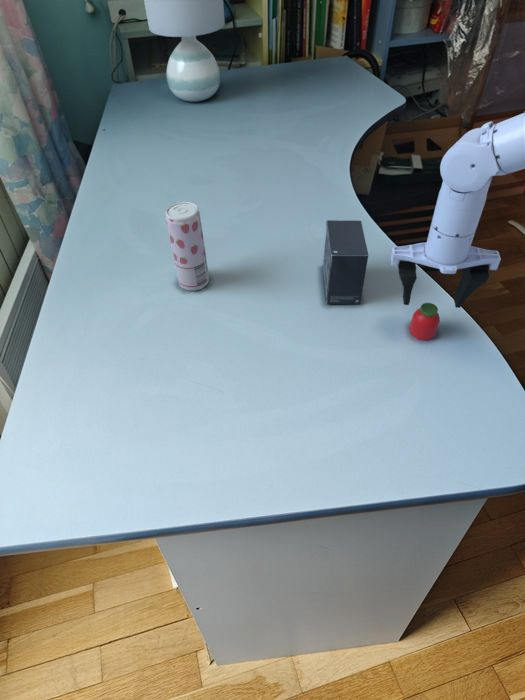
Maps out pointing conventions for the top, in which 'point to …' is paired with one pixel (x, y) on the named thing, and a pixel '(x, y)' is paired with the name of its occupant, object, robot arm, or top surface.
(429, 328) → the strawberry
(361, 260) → the small box
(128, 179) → the top surface
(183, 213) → the beverage can
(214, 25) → the lamp
